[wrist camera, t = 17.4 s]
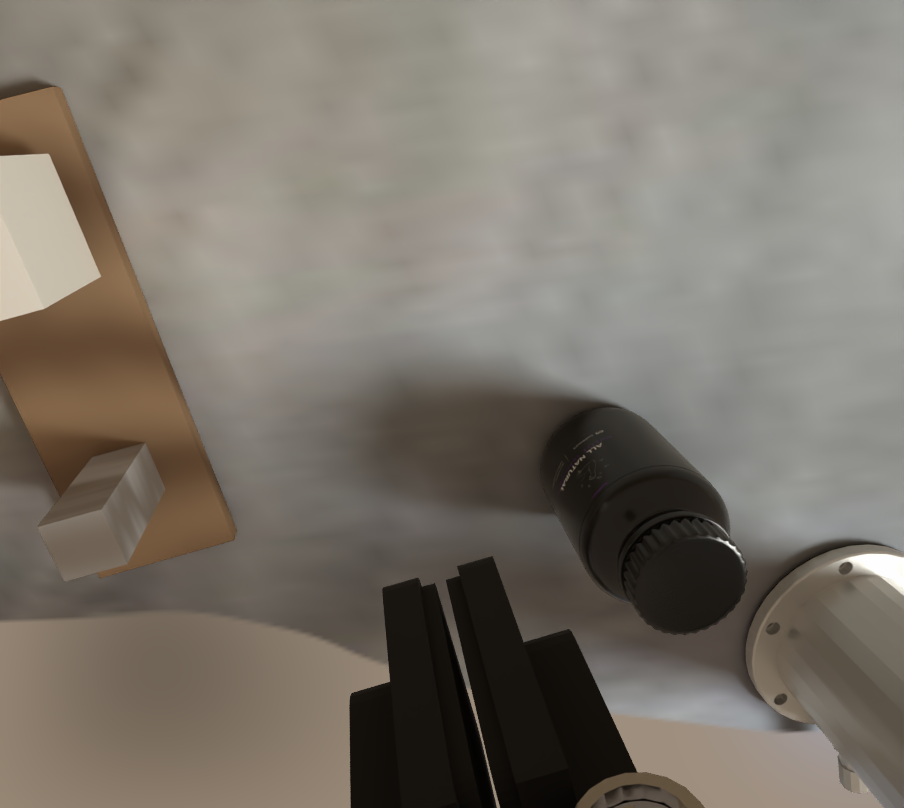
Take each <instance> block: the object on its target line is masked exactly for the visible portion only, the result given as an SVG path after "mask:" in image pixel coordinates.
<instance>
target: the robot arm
mask: <svg viewBox="0 0 904 808" xmlns="http://www.w3.org/2000/svg"><path fill="white" fill-rule="evenodd" d="M457 567H458V570H459V574H460V576H458V577H455V578H451V579H448V580H446V582H447V587H448V591H449V595H450V599H451V604H452V608H453V612H454V617H455V621H456V625H457V629H458V634H459V638H460V642H461V647H462V651H463V655H464V659H465V664H466V668H467V672H468V676H469V681H470V685H471V689H472V694H473V698H474V702H475V706H476V711H477V715H478V719H479V723H480V728H481V732H482V736H483V740H484V745H485V749H486V754H487V758H488V761H489V766H490V770H491V774H492V778H493V782H494V786H495V790H496V793H497V797H498V801H499V804H500V808H704V806H703V805H702V804H701V802H700V801H699V800H698V799H697V798H696V797H695V796H693V794H692V793H690V791H689V790H687V788H686V787H684V786H682V785H680V784H678V783H676V782H675V781H673V780H671V779H669V778H667V777H663V776H659V775H655V774H651V773H647V772H643V773H637V771H636V768H635V766H634V764H633V762H632V760H631V758H630V756H629V753H628V751H627V749H626V747H625V745H624V743H623V740H622V738H621V736H620V734H619V732H618V730H617V728H616V725H615V723H614V721H613V719H612V717H611V715H610V713H609V710H608V708H607V706H606V704H605V702H604V700H603V697H602V695H601V693H600V691H599V689H598V687H597V685H596V682H595V680H594V678H593V676H592V674H591V672H590V670H589V667H588V665H587V663H586V661H585V659H584V657H583V654H582V652H581V650H580V648H579V646H578V644H577V642H576V639H575V637H574V636H573V634H572V632H571V631H570V630H569V629H568V630H564V631H561V632H558V633H554V634H551V635H547V636H544V637H541V638H537V639H534V640H530V641H527V642H524V643H523V640H522V637H521V634H520V631H519V629H518V626H517V623H516V620H515V617H514V615H513V612H512V609H511V606H510V604H509V601H508V598H507V595H506V592H505V590H504V587H503V584H502V581H501V578H500V576H499V573H498V570H497V567H496V564H495V562H494V559H493V557H492V556H491V557H488V558H484V559H481V560H478V561H474V562H471V563H467V564H464V565H460V566H457ZM382 591H383V604H384V615H385V627H386V638H387V650H388V661H389V673H390V682H388V683H385V684H381V685H378V686H374V687H371V688H367V689H364V690H361V691H358V692H354V693H352V694H351V696H350V783H351V808H497V807H496V802H495V798H494V794H493V790H492V785H491V781H490V777H489V772H488V768H487V763H486V760H485V755H484V750H483V746H482V742H481V738H480V734H479V731H478V727H477V723H476V720H475V717H474V713H473V710H472V707H471V703H470V699H469V696H468V693H467V689H466V686H465V683H464V679H463V676H462V672H461V669H460V666H459V662H458V659H457V655H456V652H455V649H454V645H453V642H452V639H451V635H450V632H449V628H448V625H447V622H446V618H445V615H444V612H443V608H442V605H441V601H440V598H439V595H438V591H437V588H436V585H435V583H434V584H430V585H427V586H423V587H422V586H421V583H420V580H419V578H415V579H412V580H408V581H405V582H401V583H398V584H394V585H391V586H387V587H384V588H383V589H382ZM746 665H747V669H748V673H749V677H750V679H751V681H752V682H753V684H754V686H755V688H756V690H757V691H758V692H759V693H760V695H761V696H762V697H763V699H764V700H765V701H766V703H767V704H768V705H770V706H771V707H772V708H773V709H774V710H775V711H777V712H778V713H779V714H781V715H783V716H786V717H788V718H790V719H792V720H795V721H799V722H803V723H807V724H816V725H817V726H818V727H819V729H820V730H821V731H822V732H823V733H824V735H825V736H826V737H827V738H828V740H829V741H830V742H831V743H832V745H833V747H834V749H835V750H836V751H838V752H839V755H838V767H839V779H840V783H841V784H842V785H843V787H844V788H846V789H847V790H849V791H851V792H854V793H859V794H861V793H866V792H868V791H871V793H872V794H873V795H874V797H875V798H876V799H877V800H878V801H879V803H880V804H881V805H882V806H883V807H884V808H904V553H903V552H901V551H898V550H895V549H892V548H889V547H886V546H878V545H869V544H867V545H854V546H847V547H843V548H839V549H835V550H831V551H829V552H826V553H824V554H822V555H819V556H817V557H815V558H812V559H811V560H809V561H807V562H806V563H804V564H802V565H801V566H799V567H798V568H796V569H795V570H793V571H792V572H791V573H790V574H789V575H787V576H786V577H785V578H784V579H783V580H781V581H780V582H779V583H778V584H777V585H776V587H775V588H774V589H773V590H772V591H771V592H770V593H769V595H768V596H767V597H766V598H765V600H764V601H763V603H762V605H761V606H760V608H759V609H758V611H757V612H756V614H755V617H754V619H753V622H752V624H751V627H750V629H749V633H748V638H747V643H746Z"/></svg>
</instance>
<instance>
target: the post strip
mask: <svg viewBox="0 0 904 808" xmlns="http://www.w3.org/2000/svg"><path fill="white" fill-rule="evenodd" d="M32 154H49V155H50V157H51V160H52V162H53V164H54V167H55V169H56V172H57V174H58V176H59V179H60V181H61V183H62V186H63V188H64V190H65V193H66V195H67V197H68V200H69V202H70V205H71V207H72V209H73V212H74V214H75V216H76V219H77V221H78V223H79V226H80V228H81V231H82V233H83V235H84V238H85V240H86V242H87V245H88V247H89V249H90V252H91V254H92V256H93V259H94V261H95V264H96V266H97V268H98V271H99V273H100V275H101V277H100V278H98V279H96V280H94V281H93V282H91V283H89V284H87V285H86V286H84V287H82V288H80V289H78V290H77V291H75V292H73V293H71V294H70V295H68V296H66V297H64V298H63V299H61V300H59V301H57V302H56V303H54V304H52V305H50V306H49V307H47V308H45V309H42V310H38V311H35V312H31V313H28V314H24V315H20V316H17V317H13V318H9V319H6V320H2V321H0V374H1V376H2V378H3V380H4V382H5V384H6V386H7V388H8V390H9V392H10V394H11V397H12V399H13V401H14V403H15V405H16V407H17V409H18V411H19V413H20V415H21V417H22V419H23V421H24V423H25V425H26V427H27V429H28V431H29V434H30V436H31V438H32V440H33V442H34V444H35V446H36V448H37V450H38V452H39V454H40V456H41V458H42V460H43V462H44V464H45V466H46V469H47V471H48V473H49V475H50V477H51V479H52V481H53V483H54V485H55V487H56V489H57V491H58V493H59V495H60V498H59V500H58V501H57V502H56V503H55V505H54V506H53V507H52V509H51V510H50V511H49V512H48V514H47V515H46V516H45V517H44V519H43V520H42V521H41V522H40V524H39V525H38V526H37V529H38V531H39V533H40V535H41V537H42V539H43V541H44V543H45V545H46V547H47V549H48V551H49V553H50V555H51V557H52V559H53V561H54V563H55V565H56V566H57V568H58V570H59V572H60V574H61V576H62V578H63V580H64V582H66V581H69V580H73V579H76V578H80V577H83V576H87V575H90V574H94V573H97V574H98V576H99V578H102V577H105V576H109V575H113V574H116V573H120V572H123V571H127V570H130V569H134V568H137V567H141V566H144V565H148V564H151V563H155V562H158V561H162V560H166V559H169V558H173V557H176V556H180V555H183V554H187V553H190V552H194V551H197V550H201V549H204V548H208V547H212V546H215V545H219V544H222V543H226V542H229V541H233V540H234V539H235V536H236V532H237V530H236V527H235V525H234V522H233V519H232V517H231V514H230V512H229V509H228V507H227V504H226V502H225V499H224V497H223V494H222V492H221V489H220V487H219V484H218V482H217V479H216V477H215V474H214V472H213V469H212V467H211V464H210V462H209V459H208V457H207V454H206V451H205V449H204V446H203V444H202V441H201V439H200V436H199V434H198V431H197V429H196V426H195V424H194V421H193V419H192V416H191V414H190V411H189V409H188V406H187V404H186V401H185V399H184V396H183V394H182V391H181V389H180V386H179V383H178V381H177V378H176V376H175V373H174V371H173V368H172V366H171V363H170V361H169V358H168V356H167V353H166V351H165V348H164V346H163V343H162V341H161V338H160V336H159V333H158V331H157V328H156V326H155V323H154V321H153V318H152V315H151V313H150V310H149V308H148V305H147V303H146V300H145V298H144V295H143V293H142V290H141V288H140V285H139V283H138V280H137V278H136V275H135V273H134V270H133V268H132V265H131V263H130V260H129V258H128V255H127V253H126V250H125V247H124V245H123V242H122V240H121V237H120V235H119V232H118V230H117V227H116V225H115V222H114V220H113V217H112V215H111V212H110V210H109V207H108V205H107V202H106V200H105V197H104V195H103V192H102V190H101V187H100V185H99V182H98V180H97V177H96V174H95V172H94V169H93V167H92V164H91V162H90V159H89V157H88V154H87V152H86V149H85V147H84V144H83V142H82V139H81V137H80V134H79V132H78V129H77V127H76V124H75V122H74V119H73V117H72V114H71V112H70V109H69V106H68V104H67V101H66V99H65V96H64V94H63V91H62V89H61V88H58V87H49V88H45V89H41V90H37V91H33V92H29V93H25V94H21V95H17V96H13V97H9V98H5V99H1V100H0V156H11V155H32Z"/></svg>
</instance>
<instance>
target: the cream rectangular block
mask: <svg viewBox="0 0 904 808" xmlns="http://www.w3.org/2000/svg"><path fill="white" fill-rule="evenodd" d="M100 277H101V275H100V273H99V271H98V268H97V266H96V264H95V261H94V259H93V256H92V254H91V252H90V249H89V247H88V245H87V242H86V240H85V238H84V235H83V233H82V231H81V228H80V226H79V223H78V221H77V219H76V216H75V214H74V212H73V209H72V207H71V205H70V202H69V200H68V197H67V195H66V193H65V190H64V188H63V186H62V183H61V181H60V179H59V176H58V174H57V172H56V169H55V167H54V164H53V162H52V160H51V157H50V155H49V154H32V155H11V156H0V321H2V320H6V319H9V318H13V317H17V316H20V315H24V314H28V313H31V312H35V311H38V310H42V309H45V308H47V307H49V306H50V305H52V304H54V303H56V302H57V301H59V300H61V299H63V298H64V297H66V296H68V295H70V294H71V293H73V292H75V291H77V290H78V289H80V288H82V287H84V286H86V285H87V284H89V283H91V282H93V281H94V280H96V279H98V278H100Z"/></svg>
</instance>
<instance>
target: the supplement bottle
mask: <svg viewBox="0 0 904 808" xmlns="http://www.w3.org/2000/svg"><path fill="white" fill-rule="evenodd" d="M541 478H542V484H543V487H544V490H545V493H546V495H547V497H548V499H549V501H550V503H551V505H552V507H553V509H554V511H555V513H556V515H557V517H558V518H559V520H560V522H561V524H562V526H563V528H564V530H565V532H566V533H567V535H568V537H569V539H570V541H571V543H572V545H573V547H574V548H575V550H576V552H577V554H578V556H579V558H580V560H581V562H582V564H583V565H584V567H585V569H586V571H587V572H588V574H589V575H590V577H591V578H592V580H593V581H594V582H595V584H596V585H597V586H598V587H599V588H600V589H602V590H603V591H604V592H605V593H607V594H608V595H610V596H612V597H613V598H615V599H618V600H620V601H623V602H625V603H629V604H632V605H633V606H634V608H635V610H636V611H637V613H638V615H639V616H640V617H642V618H643V619H644V621H645V622H646V623H647V624H648V625H651V626H652V627H653V628H654V629H656V630H661V631H662V632H663V633H671V634H673V635H677V634H683V635H686V634H689V633H697V632H699V631H700V630H706V629H708V628H709V627H710V626H712V625H716V624H717V623H718V622H719V621H720V620H722V619H724V618H726V616H727V615H728V613H729V612H731V611H732V610H734V608H735V605H736V604H737V603H738V602H739V601H740V599H741V595H742V594H743V593H744V591H745V588H744V586H745V584H746V582H747V579H746V575H747V570H746V568H745V565H746V562H745V560H744V559H743V557H742V553H741V551H740V550H739V549H738V548H737V546H736V545H735V543H734V542H733V541H732V540H731V539H730V521H729V515H728V511H727V508H726V506H725V503H724V501H723V499H722V497H721V496H720V494H719V493H718V492H717V490H716V489H715V488H714V487H713V486H712V485H711V483H710V482H709V481H708V480H707V479H706V478H705V477H704V476H703V475H702V474H701V473H700V472H699V471H698V470H697V469H696V468H695V467H694V466H693V465H692V464H691V463H689V462H688V461H687V460H686V459H685V458H684V457H683V456H682V455H681V454H680V453H679V452H678V451H677V450H676V449H675V448H674V447H673V446H672V445H671V444H670V443H669V442H668V441H667V440H666V439H665V438H664V437H663V436H662V435H661V434H660V433H659V432H658V431H657V430H656V429H655V428H654V427H653V426H652V425H651V424H649V423H648V422H647V421H646V420H645V419H643V418H642V417H641V416H639V415H637V414H635V413H633V412H631V411H628V410H625V409H621V408H614V407H602V408H596V409H591V410H588V411H585V412H582V413H580V414H578V415H576V416H574V417H573V418H571V419H570V420H568V421H567V422H566V423H564V424H563V425H562V426H561V427H560V428H559V429H558V430H557V431H556V432H555V434H554V435H553V436H552V438H551V439H550V441H549V443H548V445H547V447H546V449H545V451H544V455H543V458H542V464H541Z"/></svg>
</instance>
